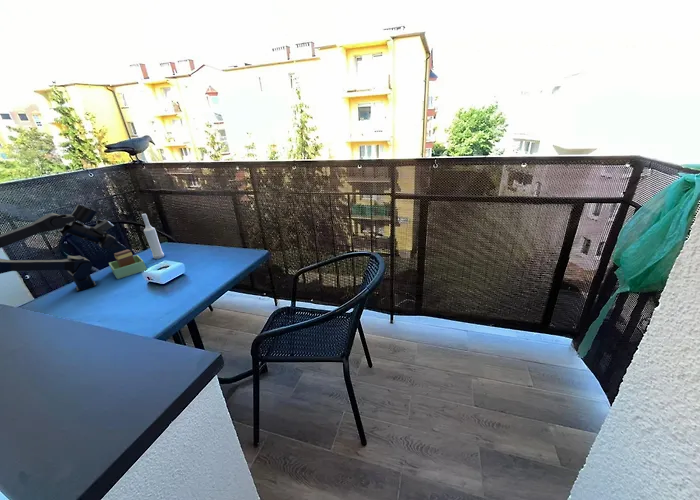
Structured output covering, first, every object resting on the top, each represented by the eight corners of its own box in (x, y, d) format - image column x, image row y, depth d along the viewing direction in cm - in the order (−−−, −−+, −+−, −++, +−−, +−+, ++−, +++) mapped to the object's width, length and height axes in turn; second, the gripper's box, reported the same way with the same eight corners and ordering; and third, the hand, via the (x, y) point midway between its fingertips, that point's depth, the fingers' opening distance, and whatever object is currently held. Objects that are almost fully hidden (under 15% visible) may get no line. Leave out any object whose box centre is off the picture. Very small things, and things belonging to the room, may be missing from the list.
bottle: (160, 258, 150) (145, 215, 140) (151, 259, 150) (135, 215, 140) (166, 254, 155) (151, 212, 144) (157, 255, 155) (142, 212, 145)
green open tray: (112, 271, 138) (108, 262, 136) (140, 263, 146) (137, 254, 144) (117, 279, 130) (113, 270, 128) (147, 269, 138) (143, 261, 136)
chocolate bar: (123, 273, 135) (116, 254, 131) (121, 271, 136) (113, 253, 132) (137, 268, 139) (130, 250, 135) (135, 266, 141) (127, 249, 137)
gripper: (100, 219, 117) (139, 235, 129) (89, 213, 127) (126, 228, 139) (84, 242, 114) (125, 256, 127) (74, 233, 125) (113, 247, 137)
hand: (122, 246), depth 132 cm, fingers open, 9 cm apart
